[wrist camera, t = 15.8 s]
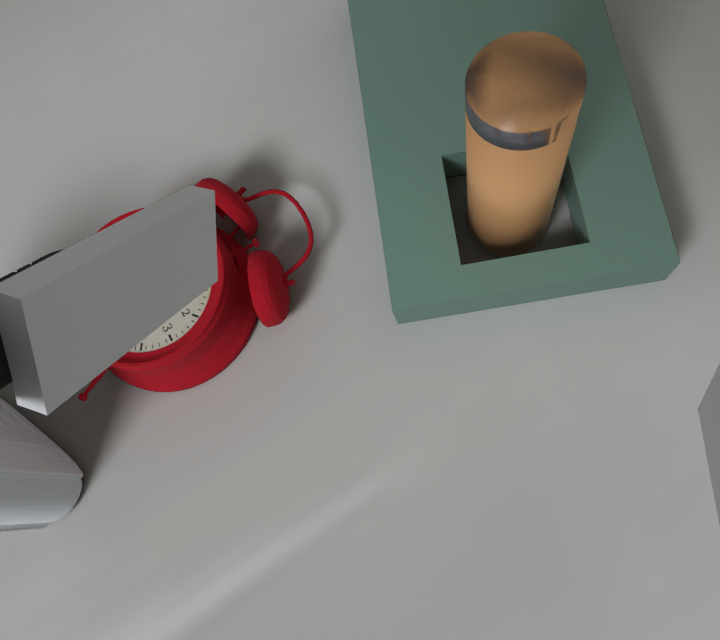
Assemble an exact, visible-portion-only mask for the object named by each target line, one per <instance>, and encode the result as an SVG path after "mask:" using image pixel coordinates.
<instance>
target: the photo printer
mask: <svg viewBox="0 0 720 640" xmlns="http://www.w3.org/2000/svg"><path fill="white" fill-rule="evenodd" d="M0 406H1V407H0V533H2V532H17V531H27V530H38V529H42V528H46V527H47V526H48V524H49V523H50V522H54V521H57V520H59V519H61V518H63V517H64V516H65V515H66V514H68V513H69V512H70V511H71V509H72V508H73V507H74V505H75V504H76V502H77V500H78V498H79V496H80V493H81V489H82V480H81V478H82V477H83V473H82V471H81V469H80V468H79V467H78V465H77V464H76V463H75V462H74V461H73V460H72V459H71V458H70V457H69V456H68V455H67V454H66V453H65V452H64V451H63V450H62V449H61V448H60V447H59V446H58V445H57V444H55V443H54V442H53V441H52V440H51V439H50V438H49V437H47V436H46V435H45V434H44V433H43V432H42V431H40V430H39V429H38V428H37V427H36V426H35V425H33V424H32V423H31V422H30V421H29V420H28V419H26V418H25V417H24V416H23V415H22V414H20V413H19V412H18V411H17V410H16V409H14V408H13V407H12V406H11V405H9V404H8V403H7V402H6V401H4V400H3V399H2V398H0Z"/></svg>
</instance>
